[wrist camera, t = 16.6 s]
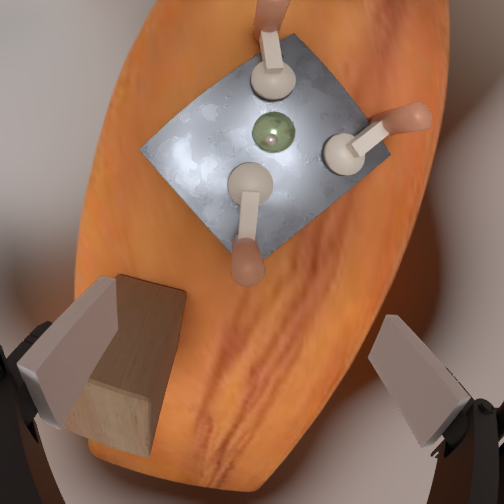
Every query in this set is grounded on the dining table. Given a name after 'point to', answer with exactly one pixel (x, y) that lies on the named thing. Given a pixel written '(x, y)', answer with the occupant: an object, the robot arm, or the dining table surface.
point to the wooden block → (132, 369)
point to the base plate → (262, 147)
